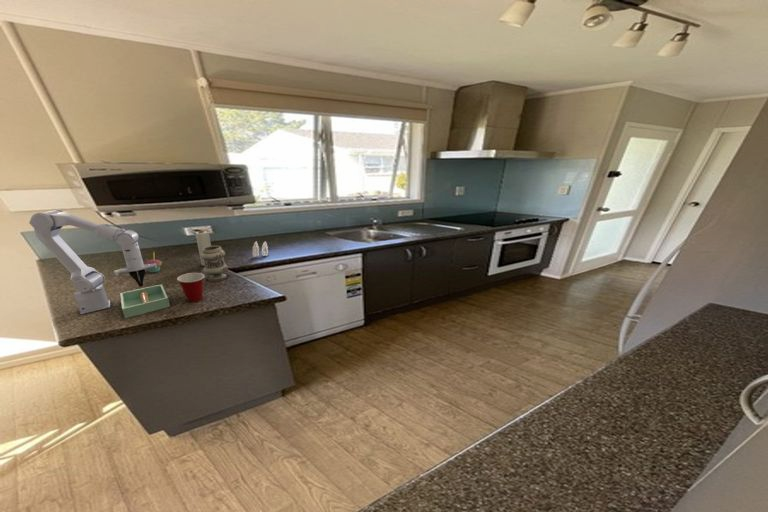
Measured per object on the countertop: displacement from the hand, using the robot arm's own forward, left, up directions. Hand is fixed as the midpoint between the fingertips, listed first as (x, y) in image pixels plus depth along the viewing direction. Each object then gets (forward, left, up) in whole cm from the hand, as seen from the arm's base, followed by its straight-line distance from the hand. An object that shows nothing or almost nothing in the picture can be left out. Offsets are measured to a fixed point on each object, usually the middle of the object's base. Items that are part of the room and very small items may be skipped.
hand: (141, 286), depth 130 cm
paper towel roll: (+34, +38, -9) cm, 51 cm away
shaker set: (+35, 0, -8) cm, 36 cm away
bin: (0, -2, -8) cm, 9 cm away
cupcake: (+8, +45, -8) cm, 46 cm away
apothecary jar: (+33, +11, -9) cm, 36 cm away
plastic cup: (+18, -11, -9) cm, 23 cm away
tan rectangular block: (0, -1, -6) cm, 6 cm away
